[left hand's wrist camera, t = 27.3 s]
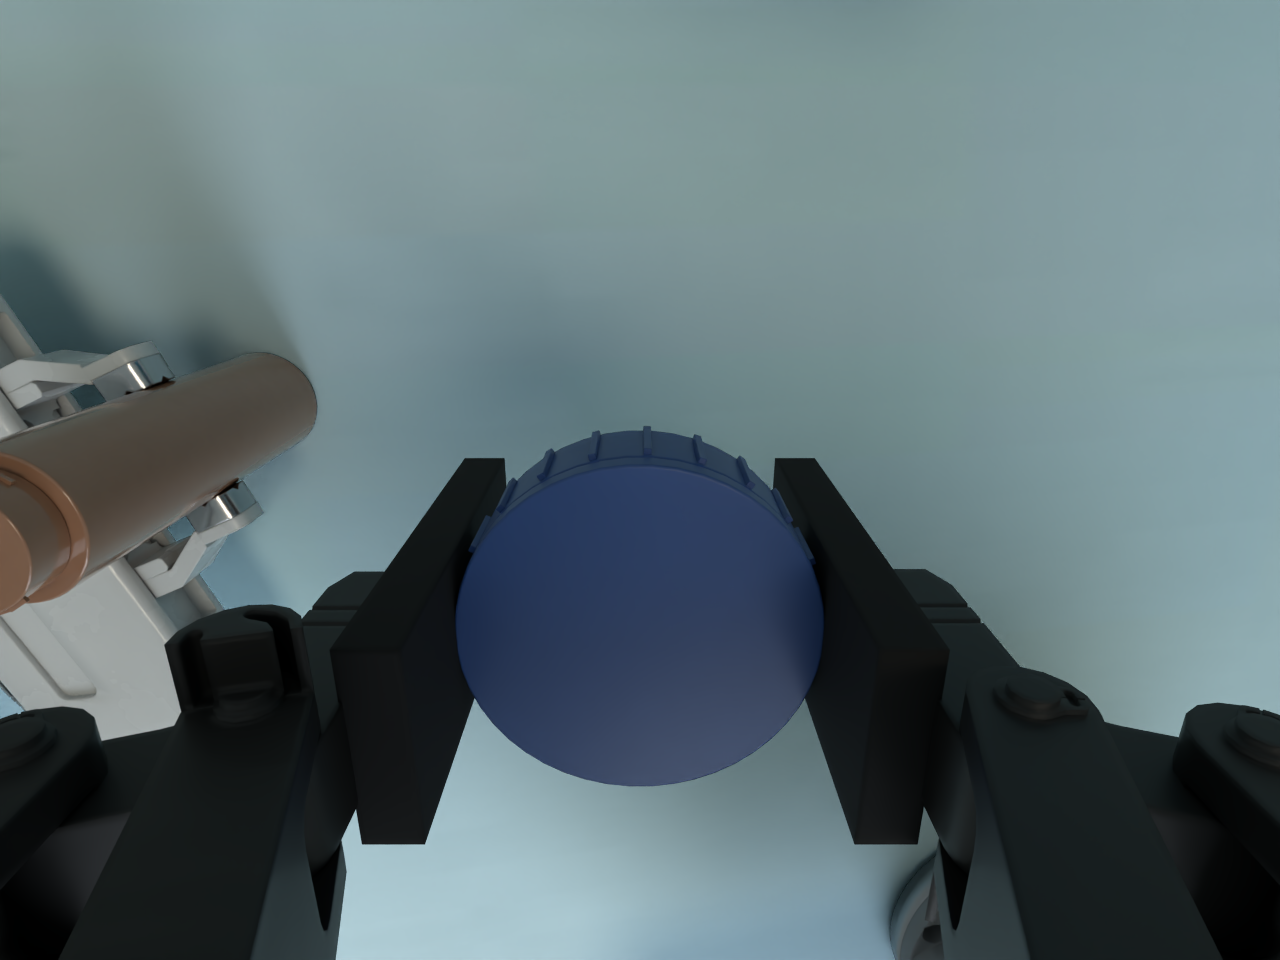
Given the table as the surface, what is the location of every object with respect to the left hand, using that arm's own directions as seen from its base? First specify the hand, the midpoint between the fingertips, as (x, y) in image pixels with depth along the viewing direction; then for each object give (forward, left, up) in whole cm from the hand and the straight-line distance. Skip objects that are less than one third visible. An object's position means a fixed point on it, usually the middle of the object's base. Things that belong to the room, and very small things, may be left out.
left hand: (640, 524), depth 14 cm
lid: (0, 0, +4) cm, 4 cm away
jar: (+16, -6, -19) cm, 26 cm away
